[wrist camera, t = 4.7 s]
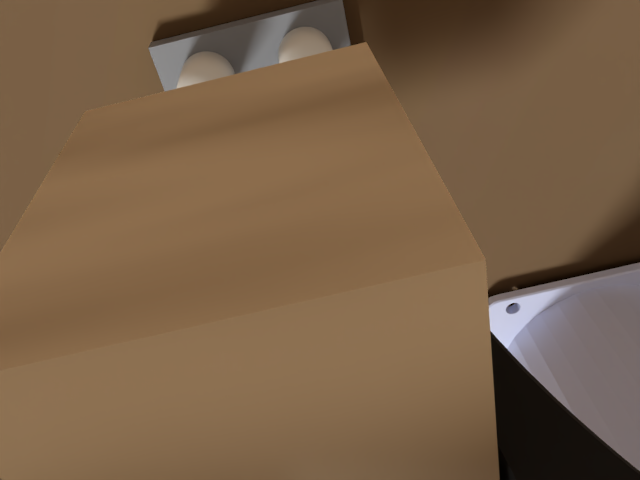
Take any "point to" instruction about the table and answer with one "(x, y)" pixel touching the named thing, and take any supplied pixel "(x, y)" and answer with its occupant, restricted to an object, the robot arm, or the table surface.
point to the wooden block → (247, 292)
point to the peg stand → (250, 43)
